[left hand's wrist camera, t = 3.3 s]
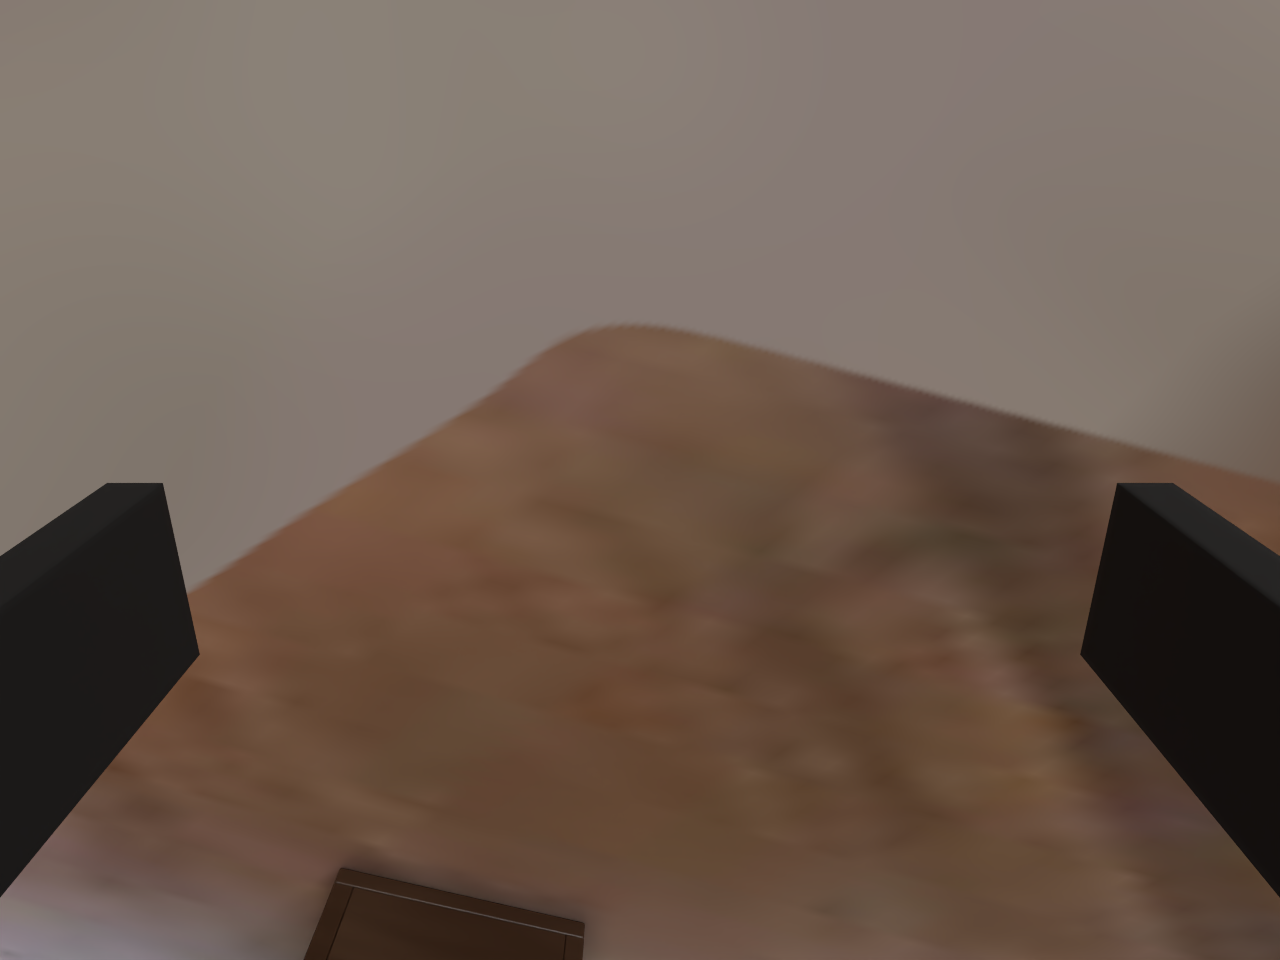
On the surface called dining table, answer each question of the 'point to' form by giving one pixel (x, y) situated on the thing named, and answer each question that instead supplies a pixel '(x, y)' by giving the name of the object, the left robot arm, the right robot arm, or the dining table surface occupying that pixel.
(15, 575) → the left robot arm
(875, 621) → the dining table surface
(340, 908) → the chest
